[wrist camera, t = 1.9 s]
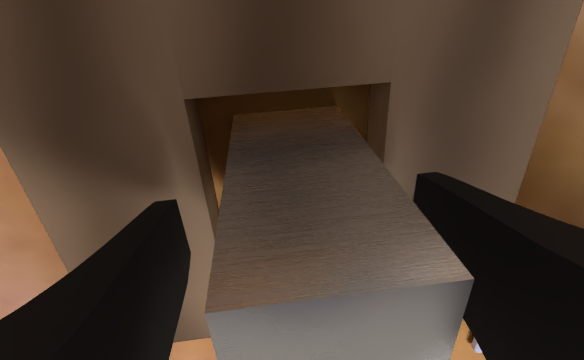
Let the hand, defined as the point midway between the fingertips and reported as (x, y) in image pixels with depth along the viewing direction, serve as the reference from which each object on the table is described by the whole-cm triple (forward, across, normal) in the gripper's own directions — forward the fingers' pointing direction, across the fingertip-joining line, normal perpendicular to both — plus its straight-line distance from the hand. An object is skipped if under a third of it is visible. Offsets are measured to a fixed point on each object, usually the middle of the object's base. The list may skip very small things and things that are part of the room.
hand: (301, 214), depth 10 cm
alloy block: (+4, 0, 0) cm, 4 cm away
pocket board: (+4, 0, 0) cm, 4 cm away
